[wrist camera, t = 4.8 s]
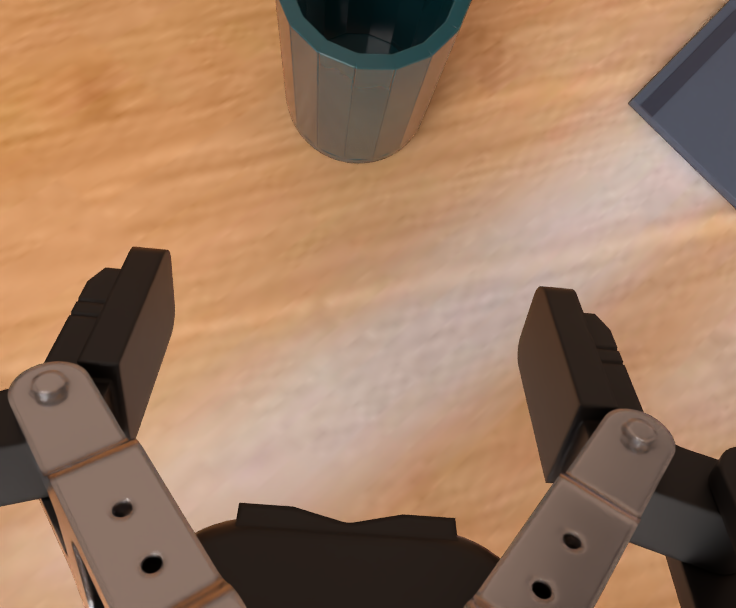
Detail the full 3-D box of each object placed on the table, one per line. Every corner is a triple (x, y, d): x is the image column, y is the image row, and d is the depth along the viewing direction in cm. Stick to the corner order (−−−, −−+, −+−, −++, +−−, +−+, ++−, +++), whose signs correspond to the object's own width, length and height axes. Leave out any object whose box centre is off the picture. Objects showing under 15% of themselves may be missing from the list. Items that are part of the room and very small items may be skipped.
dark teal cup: (257, 93, 30) (231, -33, 21) (356, 3, 30) (373, -157, 21) (357, 192, 30) (375, 109, 20) (453, 98, 30) (513, -22, 21)
